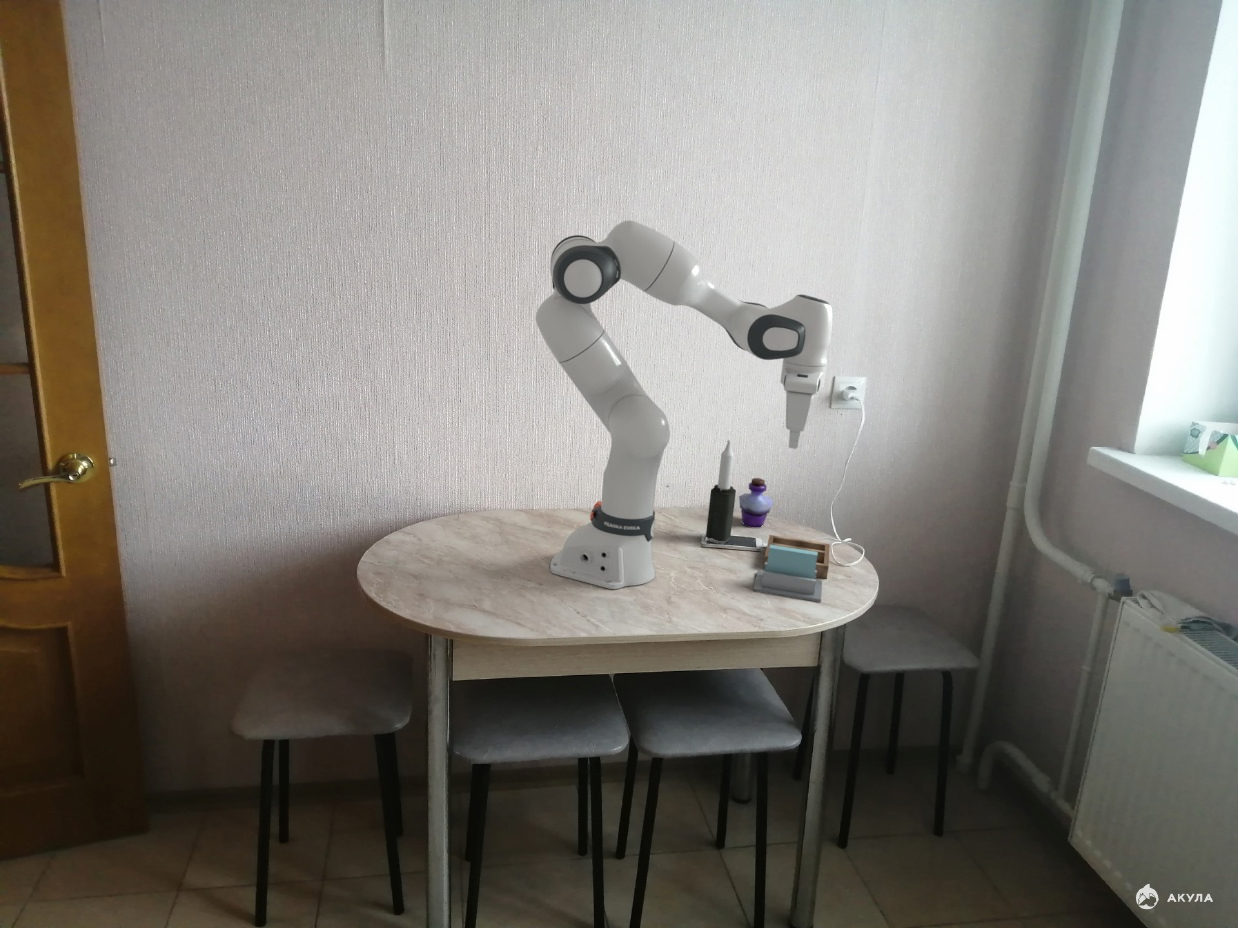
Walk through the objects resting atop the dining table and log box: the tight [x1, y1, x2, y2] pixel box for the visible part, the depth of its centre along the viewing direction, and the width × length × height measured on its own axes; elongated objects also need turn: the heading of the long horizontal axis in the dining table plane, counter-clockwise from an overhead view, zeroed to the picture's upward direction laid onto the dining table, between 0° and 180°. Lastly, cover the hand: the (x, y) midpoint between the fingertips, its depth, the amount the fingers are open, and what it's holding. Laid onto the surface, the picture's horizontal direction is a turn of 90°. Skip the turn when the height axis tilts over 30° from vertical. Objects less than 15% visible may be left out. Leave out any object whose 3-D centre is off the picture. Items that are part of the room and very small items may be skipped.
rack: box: [762, 534, 831, 580], centre depth 203 cm, size 14×14×3 cm
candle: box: [705, 439, 737, 541], centre depth 209 cm, size 5×5×25 cm
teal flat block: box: [766, 545, 818, 579], centre depth 188 cm, size 10×2×8 cm, turn 77°
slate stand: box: [752, 562, 823, 603], centre depth 189 cm, size 14×10×4 cm
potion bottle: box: [738, 477, 774, 528], centre depth 224 cm, size 9×9×12 cm
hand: (794, 442), depth 184 cm, fingers open, 8 cm apart
